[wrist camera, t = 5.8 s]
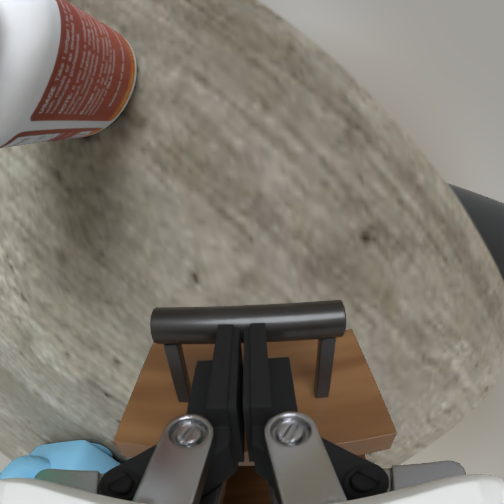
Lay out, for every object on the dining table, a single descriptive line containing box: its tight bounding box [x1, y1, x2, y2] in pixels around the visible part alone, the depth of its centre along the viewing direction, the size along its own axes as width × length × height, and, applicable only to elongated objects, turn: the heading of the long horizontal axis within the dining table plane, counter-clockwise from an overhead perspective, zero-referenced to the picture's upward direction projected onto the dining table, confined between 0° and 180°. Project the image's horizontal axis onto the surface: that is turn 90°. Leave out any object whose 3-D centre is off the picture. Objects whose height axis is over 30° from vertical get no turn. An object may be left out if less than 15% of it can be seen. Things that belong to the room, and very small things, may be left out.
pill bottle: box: [0, 0, 137, 148], centre depth 8 cm, size 6×6×11 cm
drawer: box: [114, 300, 397, 504], centre depth 15 cm, size 17×11×8 cm, turn 3°
